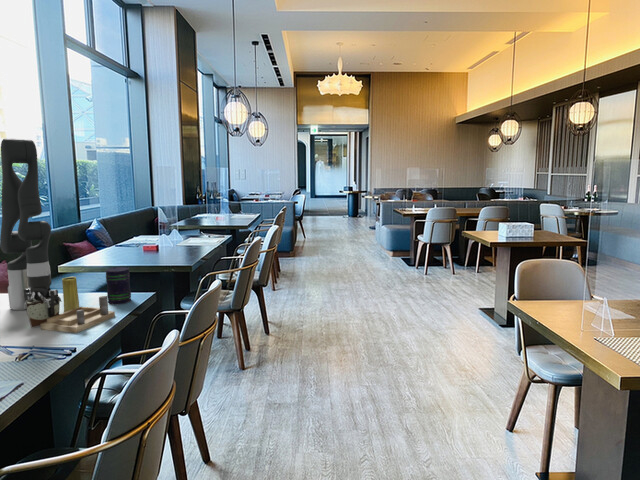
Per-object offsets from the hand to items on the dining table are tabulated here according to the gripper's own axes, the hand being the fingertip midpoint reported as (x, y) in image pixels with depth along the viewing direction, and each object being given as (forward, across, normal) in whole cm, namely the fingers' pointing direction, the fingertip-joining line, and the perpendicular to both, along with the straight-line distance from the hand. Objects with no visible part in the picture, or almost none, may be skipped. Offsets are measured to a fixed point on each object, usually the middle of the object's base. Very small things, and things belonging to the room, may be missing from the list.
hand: (43, 315), depth 173 cm
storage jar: (+3, +8, +33) cm, 34 cm away
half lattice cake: (+3, 0, 0) cm, 3 cm away
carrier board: (+3, +12, +4) cm, 14 cm away
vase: (+3, -2, +15) cm, 16 cm away
